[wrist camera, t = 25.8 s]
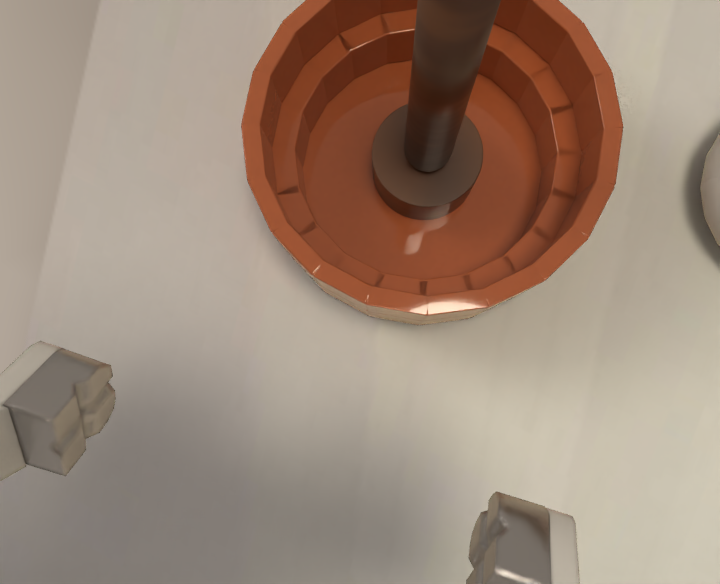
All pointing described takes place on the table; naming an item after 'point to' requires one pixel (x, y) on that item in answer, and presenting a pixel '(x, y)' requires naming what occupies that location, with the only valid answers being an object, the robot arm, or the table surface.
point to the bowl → (494, 183)
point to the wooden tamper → (435, 113)
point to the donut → (712, 189)
